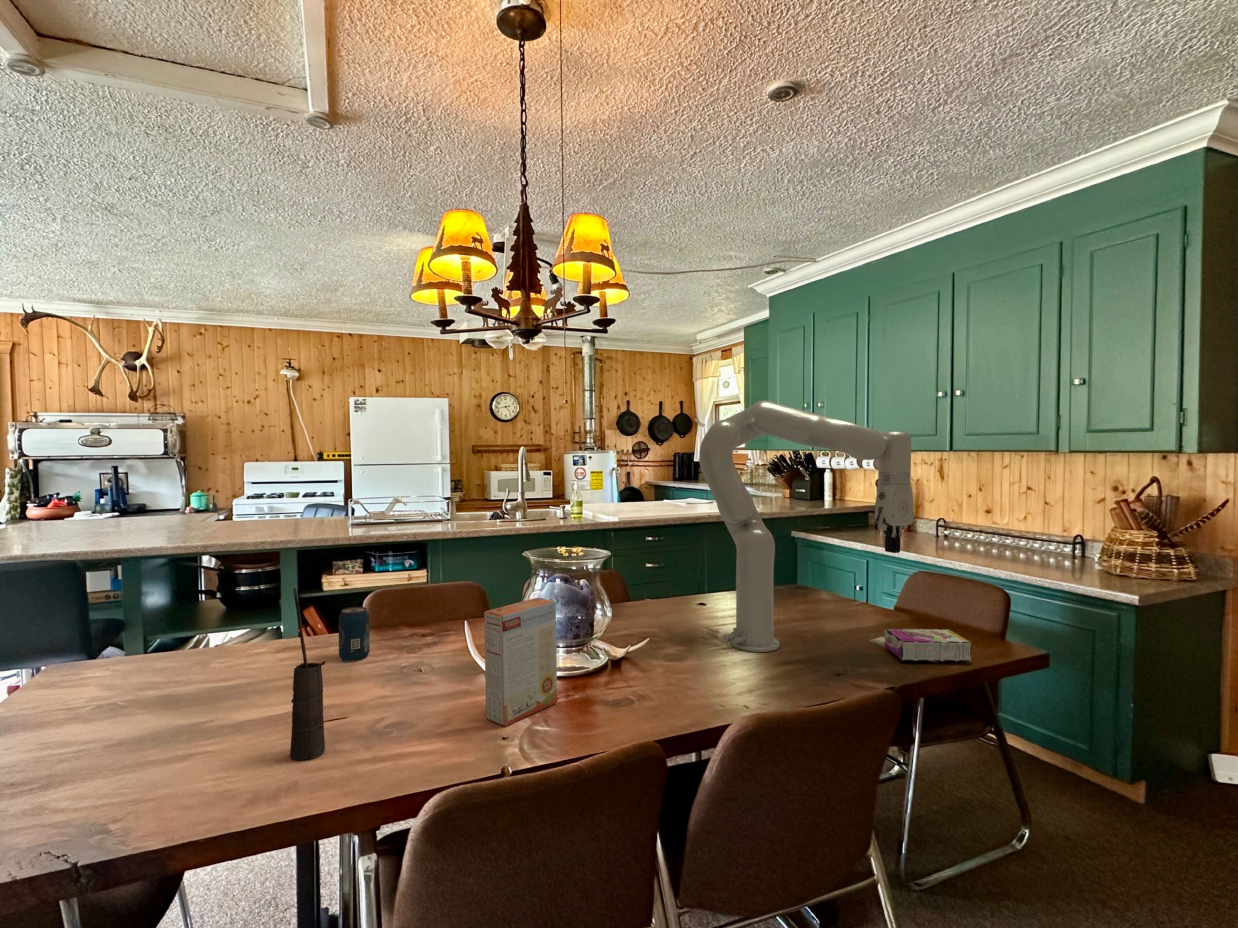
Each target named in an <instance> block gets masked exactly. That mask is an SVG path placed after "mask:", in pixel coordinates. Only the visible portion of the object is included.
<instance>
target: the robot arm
mask: <svg viewBox="0 0 1238 928" xmlns="http://www.w3.org/2000/svg"><path fill="white" fill-rule="evenodd" d="M763 435H767V436H772V437H775V438H778V439H782V440H786V441H789V442H792V443H796V444H799V445H803V446H807V447H811V448H820V449H821V448H822V449H828V450H832V451H837V452H840V453H844V454H848V455H849V456H850V457H851V458H854V459H855V460H860V461H861V460H863V461H864V460H865V461H873V460H876V459H878V469H877V471H878V472H877V473H878V474H877V488H876V489H877V490H876V494H875V495H876V497H875V502H874V503H875V504H874V521H875V523H876V524H877V529H878V530H880V531H882V532H883V536H884V552H886V553H891V554H892V553H893V554H898V553H900V552H901V537H902V535H903V530H905V529H907V528H908V526H909V525H911V524H913V523H914V519H915V515H914V514H915V512H914V510H915V509H914V496H913V495H914V494H913V488H912V485H911V473H912V436H911V433H909V432H908V431H901V430H900V431H899V430H898V431H896V430H895V431H891V430H890V431H883V432H881V431H878V430H876V429H874V428H870V427H867V426H863V425H859V424H856V423H852V422H849V421H845V420H842V419H841V420H840V419H835V418H832V417H829V416H825V415H822V414H818V413H814V412H812V411H811V412H810V411H806V410H803V409H800V408H796V407H792V406H788V405H786V404H782V403H778V402H775V401H771V400H765V399H762V400H759V401H757V402H754V403H753V404H752V405H750V406H749V407H747V408H745V409H744V410H741V411H740V412H738V413H735V414H733V415H731V416H729V417H727V418H725V419H720V420H717V421H715V422H714V423H713V424H712V425H711V426H710V427H709V428H708V430H707V432H706V433H705V434H704V436H703V438H702V441H701V442H700V446H699V455H698V456H699V465H700V469H701V472H702V475H703V476H704V479H705V482H706V483H707V485H708V489H709V491H710V492H711V495H712V496H713V498H714V500H715V503H716V507H717V510H718V512H719V514H720V516H721V518H722V520H723V522H724V524H725V526H726V527H727V528H726V529H727V530H728V533H730V536H731V538H732V540H733V542H734V544H735V547H736V566H735V568H736V570H735V573H736V574H735V576H736V577H735V587H736V588H735V591H736V596H735V597H736V598H735V604H736V605H735V606H736V607H735V608H736V610H735V615H736V616H735V627H733V628H732V632H731V633H726V634H722V637H721V638H722V641H723V643H729V644H730V646H732V647H733V648H735V649H738V650H741V651H745V652H752V653H768V652H773V651H776V650H777V649H779V648H780V640H778V639H777V638H776V637H774V569H775V567H774V566H775V565H774V564H775V556H776V555H775V554H776V543H775V539H774V536H773V534H772V532H771V531H770V530H769V529H768V528H767V527H766V525H765V523H764V522H763V519H762V517H761V515H760V514H759V512H758V509H757V507H756V506H755V502H754V499H753V496H752V495H751V493H750V492H749V490H748V489H747V487H746V486H745V483H744V482H743V480H742V477H741V475H740V474H739V471H738V469H737V467H736V465H735V463H734V458H733V455H734V453H733V452H734V451H735V449H736V448H738V447H740V446H742V445H744V444H746V443H748V442H751V441H753V440H755V439H757V438H758V437H760V436H763Z"/></svg>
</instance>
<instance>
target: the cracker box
mask: <svg viewBox="0 0 1238 928" xmlns="http://www.w3.org/2000/svg"><path fill="white" fill-rule="evenodd" d="M483 619H484V620H483V622H484V623H483V625H484V626H483V627H484V631H483V632H484V671H485V672H484V673H485V675H484V678H485V716H486V717H485V719H486V720H488V721H490V722H493V723H495V724H497V725H500V726H503V727H507V726H510V725H512V724H514V723H516V722H518V721H520V720H522V719H524V718H525V719H526V718H527V717H529V716H531V715H533V714H536V713H538V712H540V711H541V710H544V709H546V708H548V707H551V706H553V705H555V704H557V703H558V675H557V674H558V670H557V669H558V667H557V664H558V663H557V655H558V654H557V603H556V600H555V601H554V600H551V599H546V598H543V597H535V598H531V599H527V600H523V601H519V602H515V603H512V604H508V605H504V606H500V607H496V608H492V609H489V610H485V611H484V612H483Z"/></svg>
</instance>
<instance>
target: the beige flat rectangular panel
mask: <svg viewBox="0 0 1238 928" xmlns="http://www.w3.org/2000/svg"><path fill="white" fill-rule="evenodd" d="M868 643H869V644H873V645H875V646H879V647H881V648H882V647H883V648H886V647H885V635H883V636H881V637H880V636H879V637H875V638H873V639H870V640H868ZM886 649H887V648H886ZM932 662H934V663H937V662H938V661H932Z"/></svg>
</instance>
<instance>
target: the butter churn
mask: <svg viewBox="0 0 1238 928" xmlns="http://www.w3.org/2000/svg"><path fill="white" fill-rule="evenodd" d="M293 596H294V597H293V598H294V603H295V604H294V605H295V611H296V619H297V625H298V631H299V638H300V644H301V645H300V647H301V652H302V659H303V663H300V664H298V665H296V667H294V669H293V677H292V679H293V682H292V683H293V684H292V691H293V694H292V699H291V701H290V703H292V708H291V709H292V710H291V711H292V712H291V737H290V751H289V752H290V753H289V756H290V759H291V758H292V759H291V760H293V759H294V760H293V761H305V760H308V759H309V760H311V759H316V758H318V757H319V756H321V755H322V754H324V753H325V750H326V746H325V745H326V744H325V743H326V741H325V726H324V725H325V722H324V699H323V698H324V685H323V684H324V683H323V680H324V679H323V672H322V671H323V669H322V666H324V665H326V663H327V661H326V660H323V661H321V662H319V663H318V662H308V658H307V653H306V644H305V639H304V638H305V637H304V631H303V626H302V617H301V616H302V615H301V609H300V604H299V603H300V602H299V597H298V591H297V588H296V587H294V588H293Z"/></svg>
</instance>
